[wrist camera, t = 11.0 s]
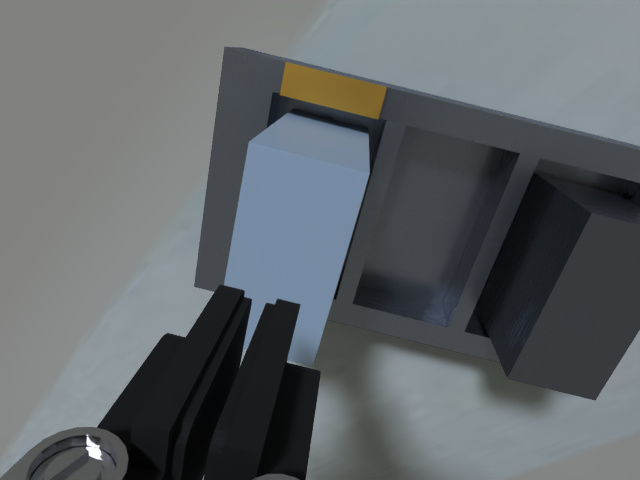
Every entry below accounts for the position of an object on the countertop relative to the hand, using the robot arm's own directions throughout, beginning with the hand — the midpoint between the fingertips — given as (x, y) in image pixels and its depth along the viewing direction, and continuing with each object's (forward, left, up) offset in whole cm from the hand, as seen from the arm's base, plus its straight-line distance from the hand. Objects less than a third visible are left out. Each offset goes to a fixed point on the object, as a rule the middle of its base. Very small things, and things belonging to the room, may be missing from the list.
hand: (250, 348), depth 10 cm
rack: (0, +6, -13) cm, 14 cm away
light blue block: (0, 0, -12) cm, 12 cm away
